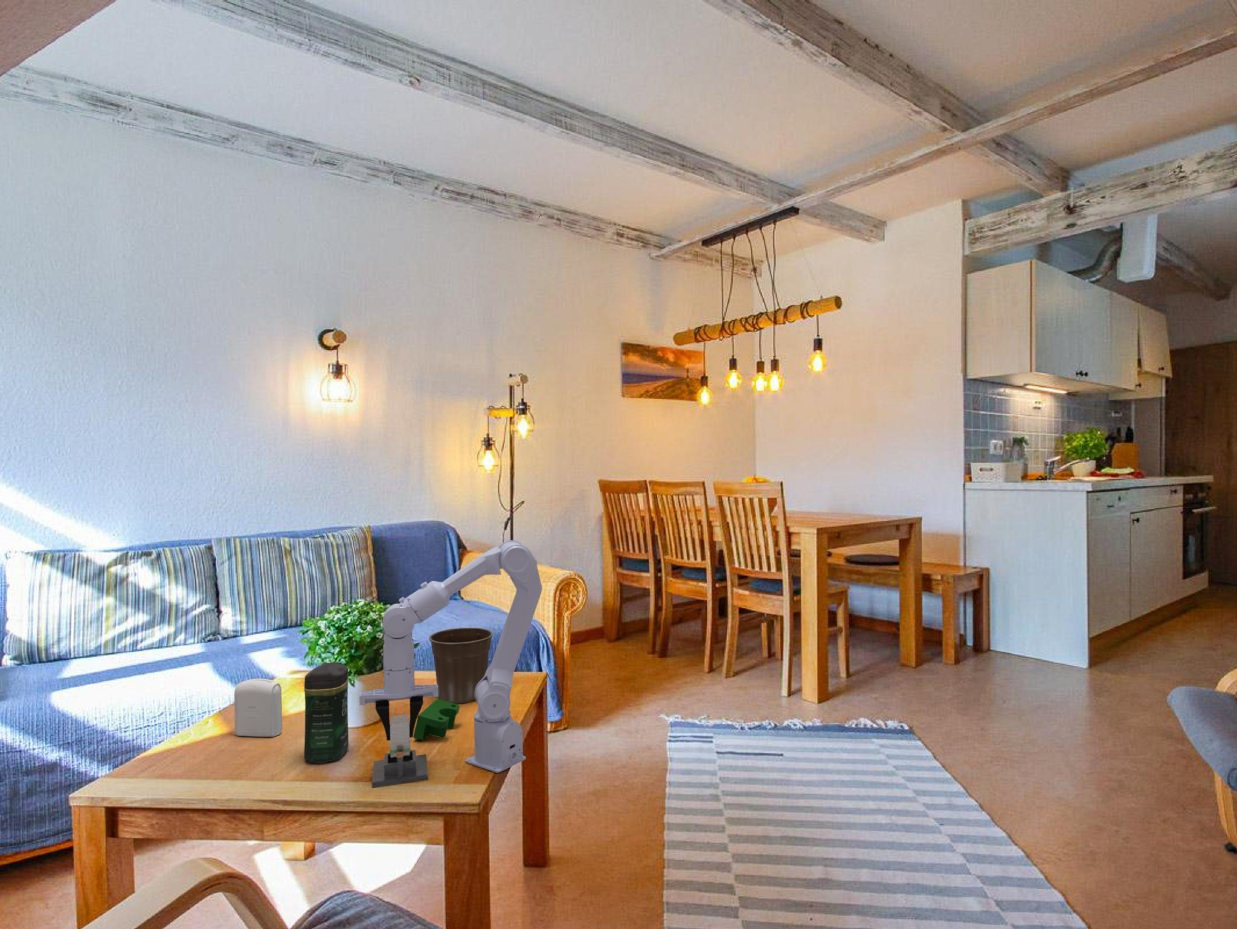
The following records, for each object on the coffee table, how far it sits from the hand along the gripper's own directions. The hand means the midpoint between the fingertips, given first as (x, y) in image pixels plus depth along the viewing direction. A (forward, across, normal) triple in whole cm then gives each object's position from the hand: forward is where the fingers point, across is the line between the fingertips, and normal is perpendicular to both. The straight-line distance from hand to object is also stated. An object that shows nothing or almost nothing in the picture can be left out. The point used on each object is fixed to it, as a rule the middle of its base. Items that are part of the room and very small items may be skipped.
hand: (400, 737), depth 135 cm
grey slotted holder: (+7, 0, 0) cm, 7 cm away
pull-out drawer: (+3, 0, 0) cm, 3 cm away
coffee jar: (+7, +14, -14) cm, 21 cm away
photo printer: (+7, +30, -32) cm, 45 cm away
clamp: (+7, -8, -19) cm, 22 cm away
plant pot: (+7, -15, -43) cm, 46 cm away
